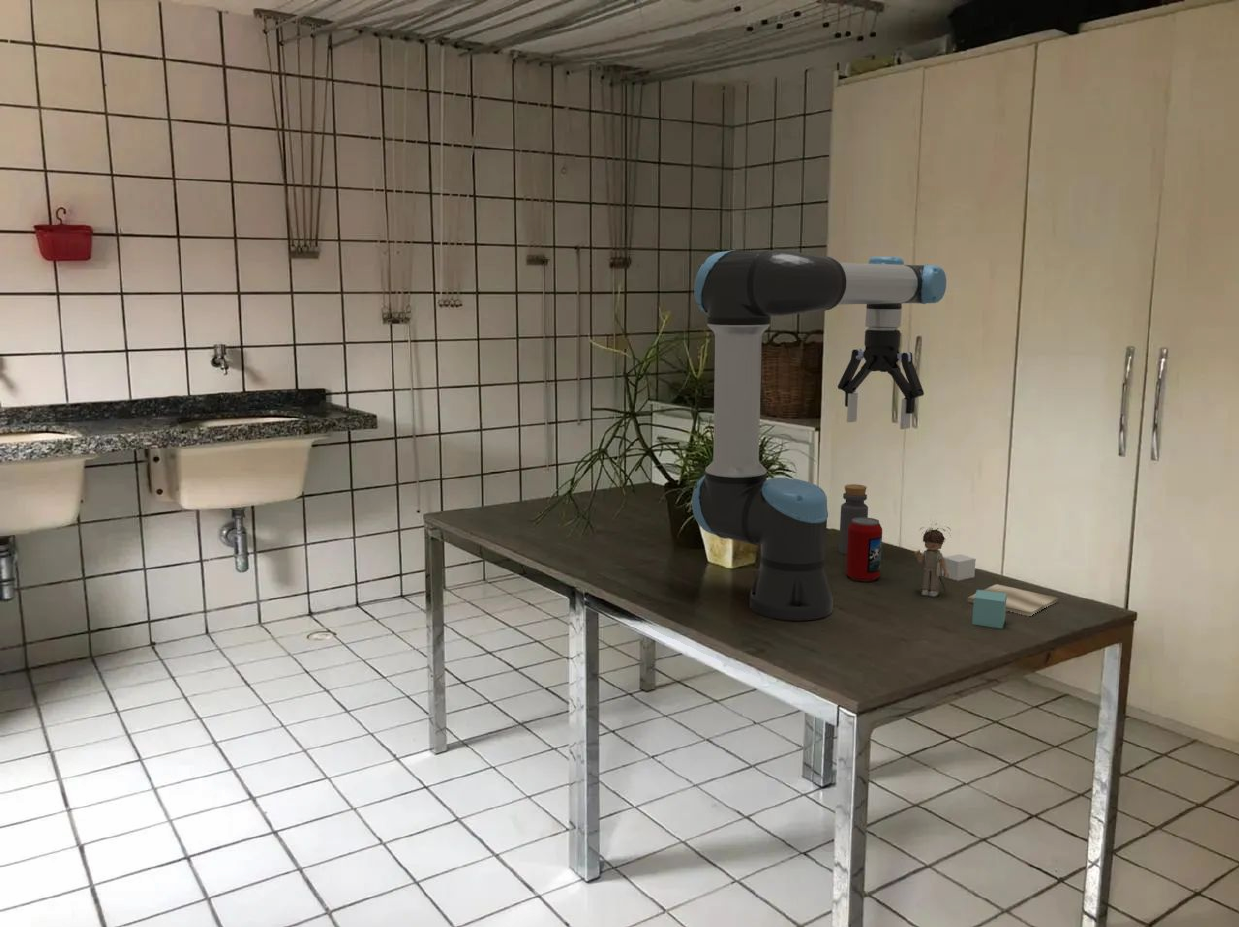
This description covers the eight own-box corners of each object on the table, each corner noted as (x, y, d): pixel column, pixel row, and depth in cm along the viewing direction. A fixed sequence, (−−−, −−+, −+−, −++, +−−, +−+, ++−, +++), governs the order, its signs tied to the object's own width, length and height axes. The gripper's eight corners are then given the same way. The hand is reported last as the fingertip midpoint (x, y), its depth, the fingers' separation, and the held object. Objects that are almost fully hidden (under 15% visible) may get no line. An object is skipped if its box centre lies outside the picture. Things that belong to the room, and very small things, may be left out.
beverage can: (880, 583, 199) (883, 525, 197) (846, 581, 201) (848, 523, 198) (878, 574, 206) (882, 517, 204) (845, 572, 207) (848, 515, 205)
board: (1030, 616, 180) (1030, 612, 180) (967, 601, 189) (967, 597, 188) (1057, 602, 188) (1057, 597, 188) (996, 587, 197) (996, 584, 197)
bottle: (863, 549, 225) (867, 483, 222) (867, 556, 219) (871, 489, 216) (837, 548, 225) (840, 483, 222) (840, 555, 219) (843, 488, 217)
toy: (911, 595, 192) (915, 520, 189) (917, 588, 197) (921, 514, 194) (944, 600, 189) (949, 524, 186) (949, 592, 194) (954, 518, 191)
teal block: (1002, 628, 174) (1004, 601, 173) (972, 624, 176) (974, 597, 175) (1004, 620, 179) (1006, 593, 178) (975, 616, 181) (977, 589, 180)
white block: (956, 581, 202) (958, 562, 201) (941, 576, 205) (943, 557, 204) (974, 577, 204) (975, 558, 203) (958, 572, 207) (960, 554, 207)
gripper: (944, 330, 212) (937, 429, 216) (844, 326, 230) (840, 417, 234) (925, 331, 207) (919, 433, 211) (825, 327, 225) (821, 420, 229)
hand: (877, 425), depth 222 cm, fingers open, 13 cm apart
